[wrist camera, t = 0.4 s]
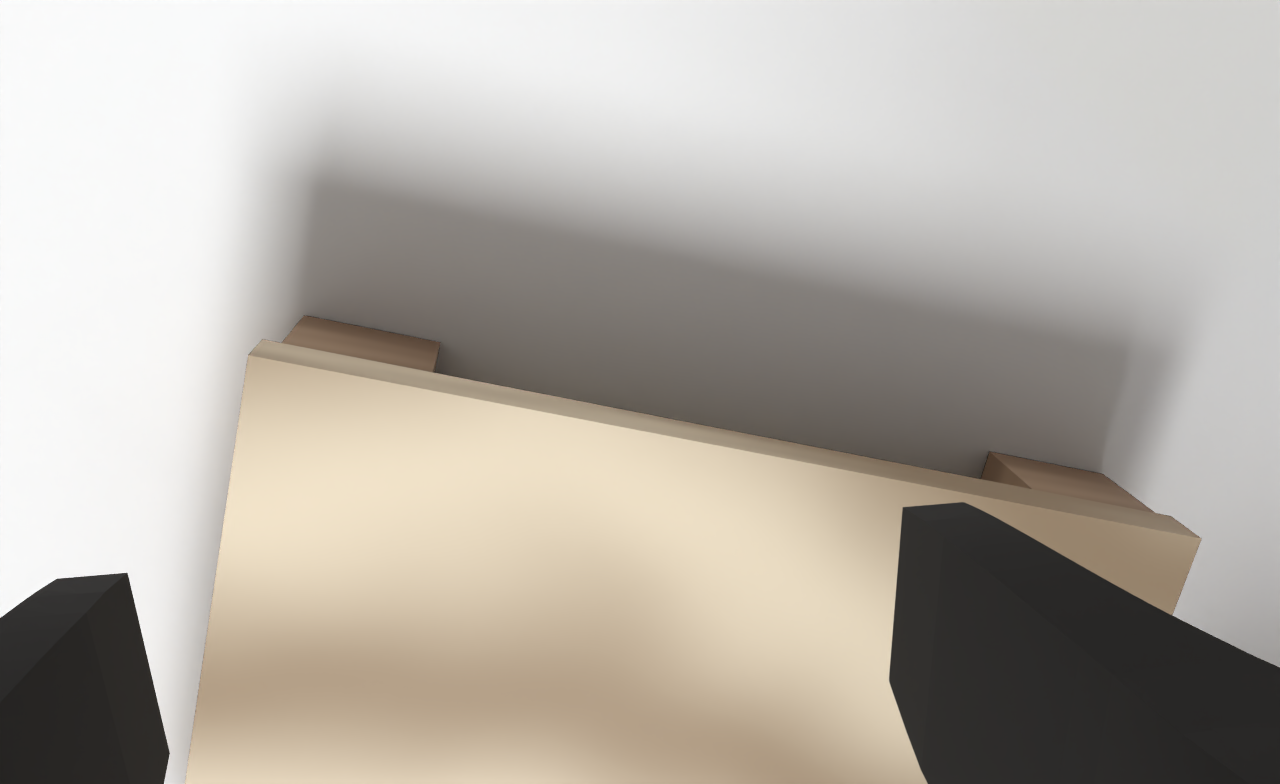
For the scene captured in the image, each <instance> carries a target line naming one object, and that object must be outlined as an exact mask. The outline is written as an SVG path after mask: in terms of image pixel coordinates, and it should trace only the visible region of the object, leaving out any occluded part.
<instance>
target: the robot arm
mask: <svg viewBox="0 0 1280 784" xmlns="http://www.w3.org/2000/svg"><path fill="white" fill-rule="evenodd" d="M889 683H890V686H891V688H892V691H893V694H894V697H895V700H896V703H897V706H898V709H899V712H900V715H901V718H902V720H903V723H904V726H905V729H906V732H907V735H908V737H909V740H910V742H911V745H912V748H913V750H914V753H915V756H916V758H917V761H918V764H919V766H920V769H921V771H922V773H923V775H924V777H925V779H926V781H927V783H928V784H1280V668H1279V667H1277V666H1275V665H1273V664H1270V663H1268V662H1266V661H1264V660H1261V659H1259V658H1257V657H1255V656H1253V655H1251V654H1248V653H1246V652H1244V651H1242V650H1240V649H1238V648H1236V647H1234V646H1232V645H1230V644H1228V643H1226V642H1224V641H1222V640H1220V639H1218V638H1216V637H1214V636H1212V635H1210V634H1208V633H1206V632H1204V631H1202V630H1200V629H1198V628H1196V627H1194V626H1192V625H1190V624H1188V623H1185V622H1183V621H1182V620H1180V619H1178V618H1176V617H1174V616H1172V615H1170V614H1168V613H1166V612H1164V611H1163V610H1161V609H1159V608H1157V607H1155V606H1153V605H1151V604H1149V603H1147V602H1146V601H1144V600H1142V599H1140V598H1138V597H1136V596H1135V595H1133V594H1131V593H1129V592H1127V591H1125V590H1124V589H1122V588H1120V587H1118V586H1116V585H1115V584H1113V583H1111V582H1109V581H1107V580H1106V579H1104V578H1102V577H1100V576H1098V575H1097V574H1095V573H1093V572H1091V571H1090V570H1088V569H1086V568H1084V567H1083V566H1081V565H1079V564H1077V563H1075V562H1074V561H1072V560H1070V559H1068V558H1067V557H1065V556H1063V555H1061V554H1060V553H1058V552H1056V551H1054V550H1053V549H1051V548H1049V547H1048V546H1046V545H1044V544H1042V543H1041V542H1039V541H1037V540H1035V539H1034V538H1032V537H1030V536H1028V535H1026V534H1025V533H1023V532H1021V531H1019V530H1018V529H1016V528H1014V527H1012V526H1010V525H1009V524H1007V523H1005V522H1003V521H1001V520H999V519H998V518H996V517H994V516H992V515H990V514H988V513H986V512H984V511H982V510H980V509H978V508H976V507H974V506H971V505H969V504H967V503H965V502H958V503H946V504H934V505H922V506H911V507H903V509H902V522H901V534H900V547H899V559H898V572H897V584H896V597H895V609H894V622H893V634H892V647H891V659H890V672H889ZM169 754H170V753H169V749H168V745H167V740H166V736H165V732H164V728H163V723H162V719H161V715H160V710H159V706H158V702H157V698H156V693H155V689H154V685H153V680H152V676H151V672H150V668H149V663H148V659H147V655H146V651H145V646H144V642H143V638H142V633H141V629H140V625H139V621H138V616H137V612H136V608H135V603H134V599H133V595H132V591H131V586H130V582H129V578H128V574H127V573H121V574H109V575H97V576H85V577H74V578H62V579H56V580H54V581H53V582H51V583H50V584H48V585H46V586H45V587H43V588H42V589H40V590H39V591H37V592H36V593H34V594H33V595H31V596H30V597H29V598H27V599H26V600H24V601H23V602H22V603H20V604H19V605H17V606H16V607H15V608H13V609H12V610H11V611H9V612H8V613H7V614H5V615H4V616H3V617H1V618H0V784H164V779H165V774H166V769H167V764H168V759H169Z"/></svg>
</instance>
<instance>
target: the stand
mask: <svg viewBox="0 0 1280 784" xmlns="http://www.w3.org/2000/svg"><path fill="white" fill-rule="evenodd" d="M439 347H440V342H436V341H431V340H426V339H421V338H416V337H411V336H406V335H401V334H396V333H391V332H386V331H381V330H376V329H370V328H365V327H360V326H355V325H350V324H345V323H340V322H335V321H330V320H325V319H320V318H315V317H310V316H305V315H304V316H303V317H302V319H301V320H300V321H299V322H298V323H297V325H296V326H295V327H294V328H293V330H292V331H291V332H290V333H289V335H288V336H287V337H286V338H285V339H284V341H283V342H282V343H279V342H274V341H269V340H263V339H262V340H261V341H260V343H259V344H258V345H257V346H256V347H255V348H254V349H253V350H252V352H251V353H250V354H249V355H248V360H247V367H246V374H245V380H244V387H243V394H242V401H241V407H240V414H239V421H238V428H237V434H236V441H235V448H234V455H233V461H232V468H231V475H230V482H229V488H228V495H227V502H226V509H225V515H224V522H223V529H222V536H221V542H220V549H219V556H218V563H217V569H216V576H215V583H214V590H213V596H212V603H211V610H210V617H209V624H208V630H207V637H206V644H205V651H204V657H203V664H202V671H201V678H200V684H199V691H198V698H197V705H196V711H195V718H194V725H193V732H192V738H191V745H190V752H189V759H188V765H187V772H186V779H185V784H928V783H927V781H926V779H925V777H924V775H923V773H922V771H921V769H920V766H919V764H918V761H917V758H916V756H915V753H914V750H913V748H912V745H911V742H910V740H909V737H908V735H907V732H906V729H905V726H904V723H903V720H902V718H901V715H900V712H899V709H898V706H897V703H896V700H895V697H894V694H893V691H892V688H891V686H890V683H889V672H890V659H891V647H892V634H893V622H894V609H895V597H896V584H897V572H898V559H899V547H900V534H901V522H902V509H903V507H911V506H922V505H934V504H946V503H958V502H965V503H967V504H969V505H971V506H974V507H976V508H978V509H980V510H982V511H984V512H986V513H988V514H990V515H992V516H994V517H996V518H998V519H999V520H1001V521H1003V522H1005V523H1007V524H1009V525H1010V526H1012V527H1014V528H1016V529H1018V530H1019V531H1021V532H1023V533H1025V534H1026V535H1028V536H1030V537H1032V538H1034V539H1035V540H1037V541H1039V542H1041V543H1042V544H1044V545H1046V546H1048V547H1049V548H1051V549H1053V550H1054V551H1056V552H1058V553H1060V554H1061V555H1063V556H1065V557H1067V558H1068V559H1070V560H1072V561H1074V562H1075V563H1077V564H1079V565H1081V566H1083V567H1084V568H1086V569H1088V570H1090V571H1091V572H1093V573H1095V574H1097V575H1098V576H1100V577H1102V578H1104V579H1106V580H1107V581H1109V582H1111V583H1113V584H1115V585H1116V586H1118V587H1120V588H1122V589H1124V590H1125V591H1127V592H1129V593H1131V594H1133V595H1135V596H1136V597H1138V598H1140V599H1142V600H1144V601H1146V602H1147V603H1149V604H1151V605H1153V606H1155V607H1157V608H1159V609H1161V610H1163V611H1164V612H1166V613H1168V614H1170V615H1172V614H1173V612H1174V609H1175V607H1176V604H1177V601H1178V599H1179V596H1180V594H1181V591H1182V588H1183V586H1184V583H1185V581H1186V578H1187V575H1188V573H1189V570H1190V568H1191V565H1192V562H1193V560H1194V557H1195V555H1196V552H1197V549H1198V547H1199V544H1200V542H1201V538H1200V537H1199V536H1197V535H1196V534H1195V533H1193V532H1192V531H1190V530H1189V529H1188V528H1186V527H1185V526H1184V525H1182V524H1181V523H1180V522H1178V521H1177V520H1175V519H1174V518H1173V517H1171V516H1167V515H1162V514H1157V513H1155V512H1153V511H1152V510H1151V509H1149V508H1148V507H1147V506H1145V505H1144V504H1143V503H1141V502H1140V501H1139V500H1137V499H1136V498H1135V497H1133V496H1132V495H1131V494H1129V493H1128V492H1126V491H1125V490H1124V489H1122V488H1121V487H1120V486H1118V485H1117V484H1116V483H1114V482H1113V481H1112V480H1110V479H1109V478H1108V477H1106V476H1105V475H1104V474H1100V473H1095V472H1090V471H1085V470H1080V469H1075V468H1070V467H1064V466H1059V465H1054V464H1049V463H1044V462H1039V461H1034V460H1029V459H1024V458H1019V457H1014V456H1009V455H1004V454H999V453H994V452H989V455H988V458H987V461H986V464H985V467H984V470H983V473H982V476H981V479H977V478H972V477H967V476H962V475H957V474H952V473H946V472H941V471H936V470H931V469H926V468H921V467H916V466H911V465H905V464H900V463H895V462H890V461H885V460H880V459H875V458H869V457H864V456H859V455H854V454H849V453H844V452H839V451H833V450H828V449H823V448H818V447H813V446H808V445H803V444H798V443H792V442H787V441H782V440H777V439H772V438H767V437H762V436H756V435H751V434H746V433H741V432H736V431H731V430H726V429H721V428H715V427H710V426H705V425H700V424H695V423H690V422H685V421H679V420H674V419H669V418H664V417H659V416H654V415H649V414H643V413H638V412H633V411H628V410H623V409H618V408H613V407H608V406H602V405H597V404H592V403H587V402H582V401H577V400H572V399H566V398H561V397H556V396H551V395H546V394H541V393H536V392H530V391H525V390H520V389H515V388H510V387H505V386H500V385H495V384H489V383H484V382H479V381H474V380H469V379H464V378H459V377H453V376H448V375H443V374H438V373H435V368H436V363H437V358H438V353H439Z"/></svg>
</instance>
